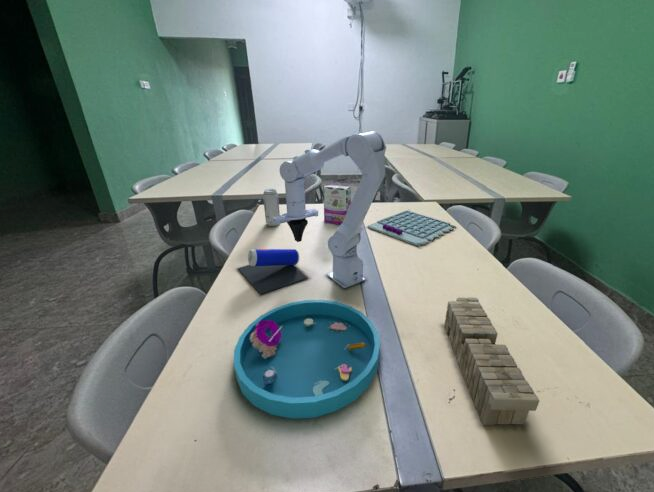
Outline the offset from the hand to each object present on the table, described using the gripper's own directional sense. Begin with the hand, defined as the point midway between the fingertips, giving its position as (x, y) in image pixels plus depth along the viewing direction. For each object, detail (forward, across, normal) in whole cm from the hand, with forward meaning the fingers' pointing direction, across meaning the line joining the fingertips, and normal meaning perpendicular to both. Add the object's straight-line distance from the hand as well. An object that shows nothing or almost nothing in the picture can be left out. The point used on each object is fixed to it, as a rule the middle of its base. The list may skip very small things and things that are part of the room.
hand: (298, 240), depth 102 cm
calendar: (+9, -55, 0) cm, 56 cm away
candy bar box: (+9, -32, -24) cm, 41 cm away
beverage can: (+6, +1, 0) cm, 6 cm away
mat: (+8, +10, +1) cm, 13 cm away
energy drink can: (+9, -8, -38) cm, 40 cm away
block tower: (+8, -8, +62) cm, 64 cm away
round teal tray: (+9, +18, +38) cm, 43 cm away
